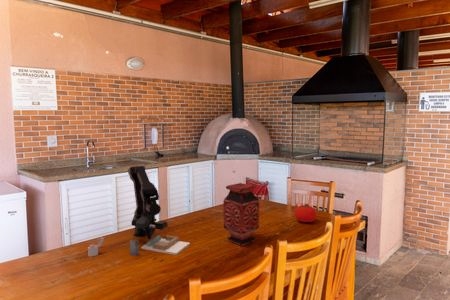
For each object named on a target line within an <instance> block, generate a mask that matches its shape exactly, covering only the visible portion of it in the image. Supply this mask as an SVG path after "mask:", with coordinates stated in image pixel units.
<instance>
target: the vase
mask: <svg viewBox="0 0 450 300" xmlns="http://www.w3.org/2000/svg"><path fill="white" fill-rule="evenodd" d="M225 189H226V190H229V192H228V194H227V195H226V196H225V197H224V198H223V209H222V211H223V212H222V213H223V215H222V217H223V228H224V229H225V230H226V231H227V232H228V233H229V234H230V236H229V237H228V238H227V241H228V242H230V243H232V242H233V243H232V244H235V245H238V246H240V245H241V246H240V247H243V246H245V245H248V244H250V243H254V242H255V241H256V237H254V236H253V234H254V232H255V231H256V230H258V229H259V228H260V199H259V198H258V197H257V196H256V195H255V194H254V192H253V191H252V190H254V189H256V186H255V185H253V184H252V185H251V184H246V183H242V182H239V183H234V184H229V185H226V186H225Z"/></svg>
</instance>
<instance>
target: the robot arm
mask: <svg viewBox="0 0 450 300" xmlns="http://www.w3.org/2000/svg"><path fill="white" fill-rule="evenodd" d="M127 172H128V175H129V179H130V181H132V182H133V188H134V190H133V191H134V196H135V197H134V199H135V205H136V208H135V210H134V213H133V214H134V215H133V218H132V220H131V222H130V223H131V224H130V225H131V226H133V227H134V234H133V236H136V237H141V238H144V237H145V236H147V239H148V241H150V240H152V239H153V235H154V233H155V231H156V230H160V231H161V230H164V229H166V228H167V227H169V225H168V222H167V221H166V220H159V221H157V218H156V217H155V216H157V215H158V214H160V212H161V205H160V204H159V203H157V201H159V200H160V199H159V198H160V195H159V191H158V188H157V187H156V186H155V184H154V183H152V182H151V181H150V178H149V177H148V174H147V171H146V166H144V165H136V166H135V165H134V166H130V167H129V168H128V169H127Z"/></svg>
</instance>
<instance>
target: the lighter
mask: <svg viewBox="0 0 450 300" xmlns="http://www.w3.org/2000/svg"><path fill="white" fill-rule="evenodd" d="M104 240H105V238H104V237H102V236H100V238H99V239H98V242H97V244H90V245H89V246H88V247H87V253H88V254H87V255H88V257H89V258H91V257H95V256H98V255H99V248H101V246H102V244H103V242H104Z"/></svg>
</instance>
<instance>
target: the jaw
mask: <svg viewBox="0 0 450 300" xmlns="http://www.w3.org/2000/svg"><path fill="white" fill-rule="evenodd" d="M161 238H162V236H161V235H157V236H155V237H152V238H151V239H150V240H148V241H147V243H148V246H151V245H152V244H154V243H155V242H157V241H159V240H160V239H161Z"/></svg>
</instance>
